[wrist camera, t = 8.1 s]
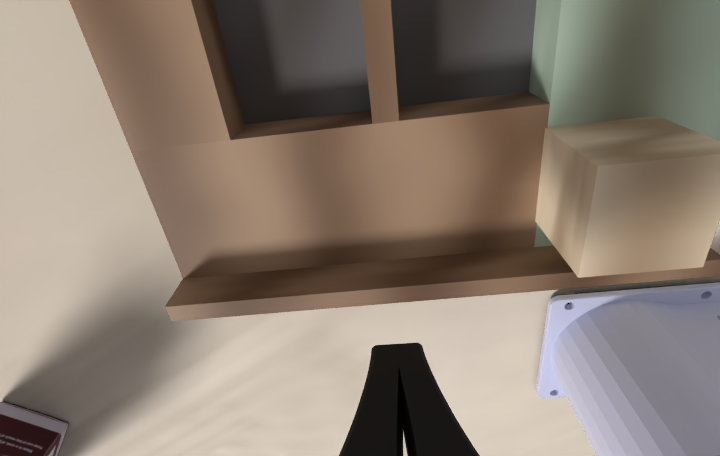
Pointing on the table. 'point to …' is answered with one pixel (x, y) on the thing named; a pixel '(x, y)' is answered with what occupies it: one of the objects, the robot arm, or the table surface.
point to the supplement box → (29, 432)
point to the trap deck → (381, 135)
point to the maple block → (629, 195)
